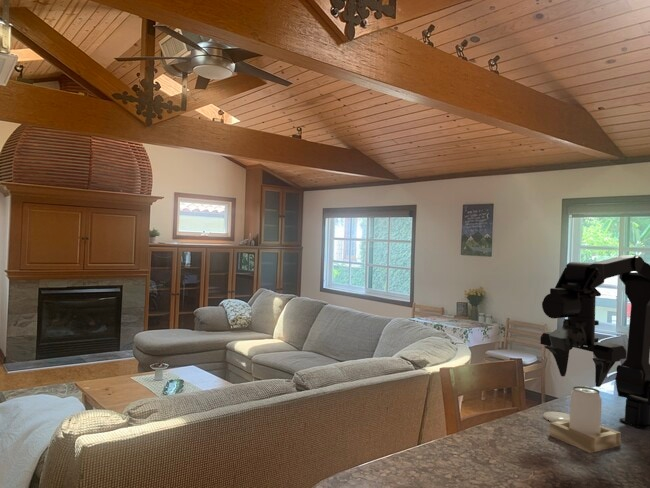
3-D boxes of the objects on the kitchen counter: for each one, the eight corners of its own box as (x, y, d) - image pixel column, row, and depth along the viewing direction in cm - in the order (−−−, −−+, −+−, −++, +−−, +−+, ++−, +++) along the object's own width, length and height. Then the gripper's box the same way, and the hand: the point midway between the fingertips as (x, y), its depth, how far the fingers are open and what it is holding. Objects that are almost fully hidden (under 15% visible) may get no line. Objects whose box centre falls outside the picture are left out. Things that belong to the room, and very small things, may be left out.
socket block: (578, 429, 123) (579, 417, 123) (620, 445, 114) (620, 432, 114) (549, 435, 119) (550, 422, 118) (590, 452, 109) (590, 439, 109)
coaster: (557, 412, 135) (557, 410, 135) (584, 422, 128) (584, 420, 128) (537, 416, 132) (537, 413, 132) (563, 426, 125) (563, 424, 125)
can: (604, 447, 112) (606, 394, 112) (573, 444, 114) (575, 392, 114) (594, 436, 119) (596, 386, 119) (565, 433, 120) (567, 384, 120)
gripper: (525, 311, 122) (523, 374, 122) (595, 324, 105) (594, 397, 105) (556, 309, 127) (555, 370, 127) (628, 321, 110) (627, 391, 110)
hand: (579, 381), depth 117 cm, fingers open, 9 cm apart
